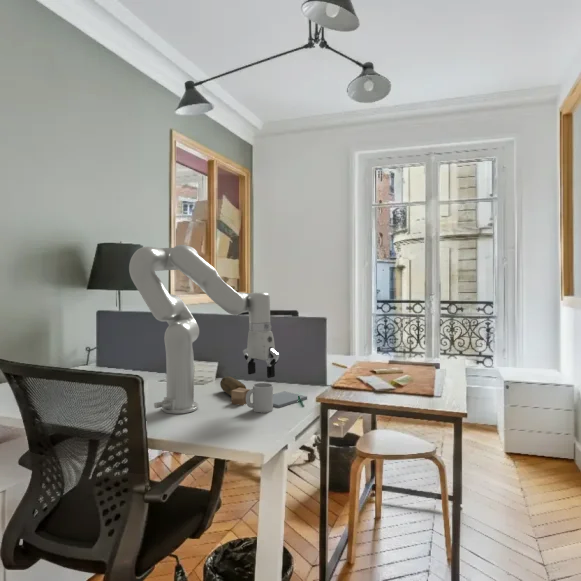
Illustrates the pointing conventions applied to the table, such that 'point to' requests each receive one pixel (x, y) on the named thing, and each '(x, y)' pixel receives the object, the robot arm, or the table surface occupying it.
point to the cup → (261, 397)
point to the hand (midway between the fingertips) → (261, 375)
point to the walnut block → (239, 396)
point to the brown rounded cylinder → (230, 384)
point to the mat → (286, 398)
